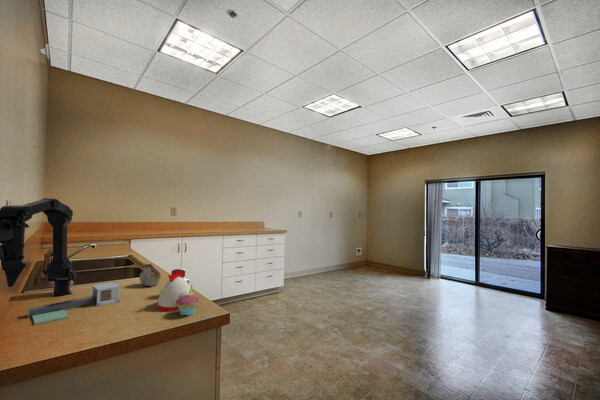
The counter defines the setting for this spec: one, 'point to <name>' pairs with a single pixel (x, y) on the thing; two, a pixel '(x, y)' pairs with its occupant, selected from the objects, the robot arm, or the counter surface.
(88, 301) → the bar
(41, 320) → the coaster
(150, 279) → the grey rounded lump
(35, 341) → the counter surface
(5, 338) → the counter surface
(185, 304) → the cupcake
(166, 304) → the kitchen timer
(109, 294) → the block
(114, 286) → the tunnel
